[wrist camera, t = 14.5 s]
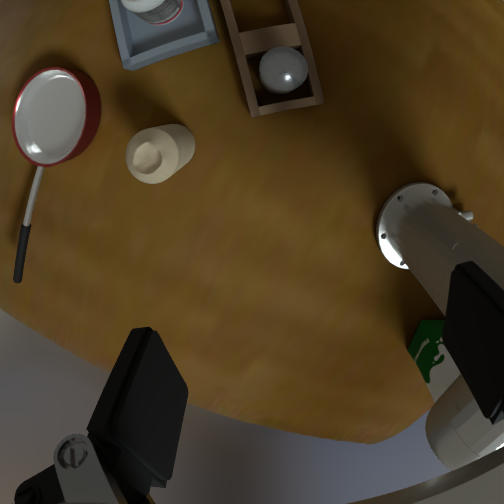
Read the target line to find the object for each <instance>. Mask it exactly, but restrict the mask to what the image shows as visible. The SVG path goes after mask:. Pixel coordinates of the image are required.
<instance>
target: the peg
mask: <svg viewBox="0 0 504 504" xmlns="http://www.w3.org/2000/svg"><path fill="white" fill-rule="evenodd" d="M307 74H308V65H307V62H306V60H305V58H304V57H303V55H302V54H301V53H300V52H298V51H297V50H295V49H293V48H290V47H276V48H273V49H271V50H269V51H268V52H267V53H265V55H264V56H263V57H262V59H261V61H260V67H259V79H260V83H261V85H262V87H263V88H264V89H265V90H266V91H267V92H269V93H271V94H274V95H284V94H287V93H289V92H291V91H292V90H294V89H296V88H297V87H299V86H300V85H301V84H302V83H303V82H304V81H305V79H306V77H307Z"/></svg>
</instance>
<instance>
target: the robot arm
mask: <svg viewBox="0 0 504 504" xmlns="http://www.w3.org/2000/svg"><path fill="white" fill-rule="evenodd" d="M398 196H399V198H398ZM472 219H473V213H472V211H471V210H467V211H463V212H459V211H458V210H456V209H455V208H453V206H452V203H451V201H450V199H449V198H448V196H447V195H446V194H445V193H444V192H443V191H442V190H441V189H439V188H438V187H436V186H434V185H432V184H429V183H425V182H416V183H410V184H408V185H405V186H403V187H401V188H400V189H398V190H397V191H395V192H394V193H393V194H392V195H391V196H390V197H389V198H388V200H387V201H386V202H385V204H384V205H383V207H382V209H381V211H380V214H379V217H378V220H377V226H376V238H377V242H378V246H379V248H380V250H381V252H382V253H383V255H384V256H385V258H386V259H387V260H388V261H389V262H390V263H392V264H393V265H395V266H397V267H399V268H404V269H409V270H410V271H411V272H412V273H413V275H414V276H415V277H416V278H417V280H418V281H419V282H420V284H421V285H422V286H423V288H424V289H425V290H426V292H427V293H428V294H429V295H430V297H431V298H432V300H433V301H434V302H435V304H436V305H437V306H438V308H439V309H440V310H441V312H442V313H443V315H444V316H445V320H444V326H443V332H442V341H443V344H444V346H445V347H446V349H447V351H448V352H449V354H450V356H451V357H452V359H453V361H454V363H455V364H456V366H457V368H458V369H459V371H460V373H461V374H460V375H459V376H458V377H457V378H456V379H455V381H454V382H453V383H452V384H451V385H450V386H449V387H448V388H447V390H446V391H445V392H444V393H443V394H442V395H441V396H440V397H439V398H438V400H437V401H436V402H435V403H434V405H433V406H432V408H431V410H430V412H429V414H428V416H427V420H426V426H425V430H426V437H427V440H428V443H429V445H430V447H431V449H432V451H433V452H434V454H435V455H436V456H437V458H438V459H439V460H440V461H441V462H442V463H443V464H444V465H445V466H447V467H448V468H449V469H450V470H451V472H449V473H446V474H444V475H441V476H439V477H436V478H434V479H431V480H428V481H426V482H423V483H420V484H417V485H414V486H411V487H408V488H405V489H402V490H398V491H395V492H392V493H388V494H385V495H381V496H377V497H374V498H370V499H365V500H361V501H357V502H353V503H348V504H504V246H503V245H501V244H500V243H498V242H497V241H496V240H494V239H493V238H492V237H490V236H489V235H488V234H486V233H485V232H484V231H482V230H481V229H479V228H478V225H477V224H475V223H473V224H472V223H471V222H470V221H468V220H472ZM187 398H188V388H187V385H186V383H185V381H184V380H183V378H182V376H181V374H180V373H179V371H178V369H177V367H176V365H175V364H174V362H173V360H172V358H171V356H170V355H169V353H168V351H167V349H166V347H165V345H164V343H163V341H162V339H161V338H160V336H159V334H158V332H157V331H153V330H152V328H150V327H143V328H135V329H132V330H131V332H130V334H129V336H128V338H127V340H126V342H125V344H124V346H123V348H122V350H121V352H120V355H119V357H118V359H117V361H116V363H115V365H114V367H113V369H112V372H111V374H110V376H109V378H108V380H107V383H106V385H105V387H104V389H103V392H102V394H101V396H100V398H99V401H98V403H97V405H96V408H95V410H94V412H93V415H92V417H91V419H90V422H89V424H88V427H87V430H88V432H89V433H88V436H87V437H86V436H85V435H83V434H72V435H69V436H67V437H66V438H64V439H63V440H61V442H60V443H59V444H58V445H57V447H56V449H55V451H54V456H53V457H54V464H53V465H52V466H50V467H48V468H47V469H45V470H43V471H42V472H40V473H38V474H37V475H35V476H33V477H31V478H29V479H28V480H26V481H24V482H23V483H22V484H20V486H19V487H18V488H17V490H16V493H15V498H14V500H15V504H156V503H155V502H154V500H153V499H152V497H151V495H150V494H149V491H150V487H151V486H152V487H162V488H166V483H167V480H170V479H171V477H172V473H173V467H174V462H175V457H176V452H177V447H178V442H179V437H180V432H181V427H182V422H183V416H184V412H185V408H186V403H187ZM11 504H13V503H11Z"/></svg>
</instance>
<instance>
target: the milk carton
mask: <svg viewBox="0 0 504 504" xmlns="http://www.w3.org/2000/svg"><path fill="white" fill-rule="evenodd" d="M443 326H444V320H421V322H420V324H419V326H418V329H417V331H416V333H415V335H414V337H413V339H412V341H411V343H410V345H409V348H408V352H409V353H410V355H411V357H412V358H413V360H414V361H415V363H416V364H417V366H418V368H419V370H420V372H421V374H422V376H423V378H424V380H425V382H426V385H427V387H428V389H429V391H430V393H431V395H432V398H433V400H434V403H435V402H436V401H437V400H438V398H439V397H440V396H441V395H442V394H443V393H444V392H445V391H446V390H447V388H448V387H449V386H450V385H451V384H452V383H453V382H454V381H455V379H456V378H457V377H458V376H459V375H460V374H461V373H460V371H459V369H458V368H457V366H456V364H455V363H454V361H453V359H452V357H451V356H450V354H449V352H448V351H447V349H446V347H445V346H444V344H443V341H442V332H443Z"/></svg>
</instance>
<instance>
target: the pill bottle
mask: <svg viewBox="0 0 504 504" xmlns="http://www.w3.org/2000/svg"><path fill="white" fill-rule="evenodd" d="M121 2H122V4H123V6H124V7H125V8H127V9H128V10H129V11H131V12H133V13H134V14H136V15H137V16H138V17H140V18H141V19H143V20H144V21H146V22H147V23H149V24H151V25H157V26H159V25H166V24H168V23H170V22H172V21H174V20H175V19H176V18H177V17H178V16H179V15H180V14H181V12H182V10H183V7H184V0H121Z"/></svg>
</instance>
